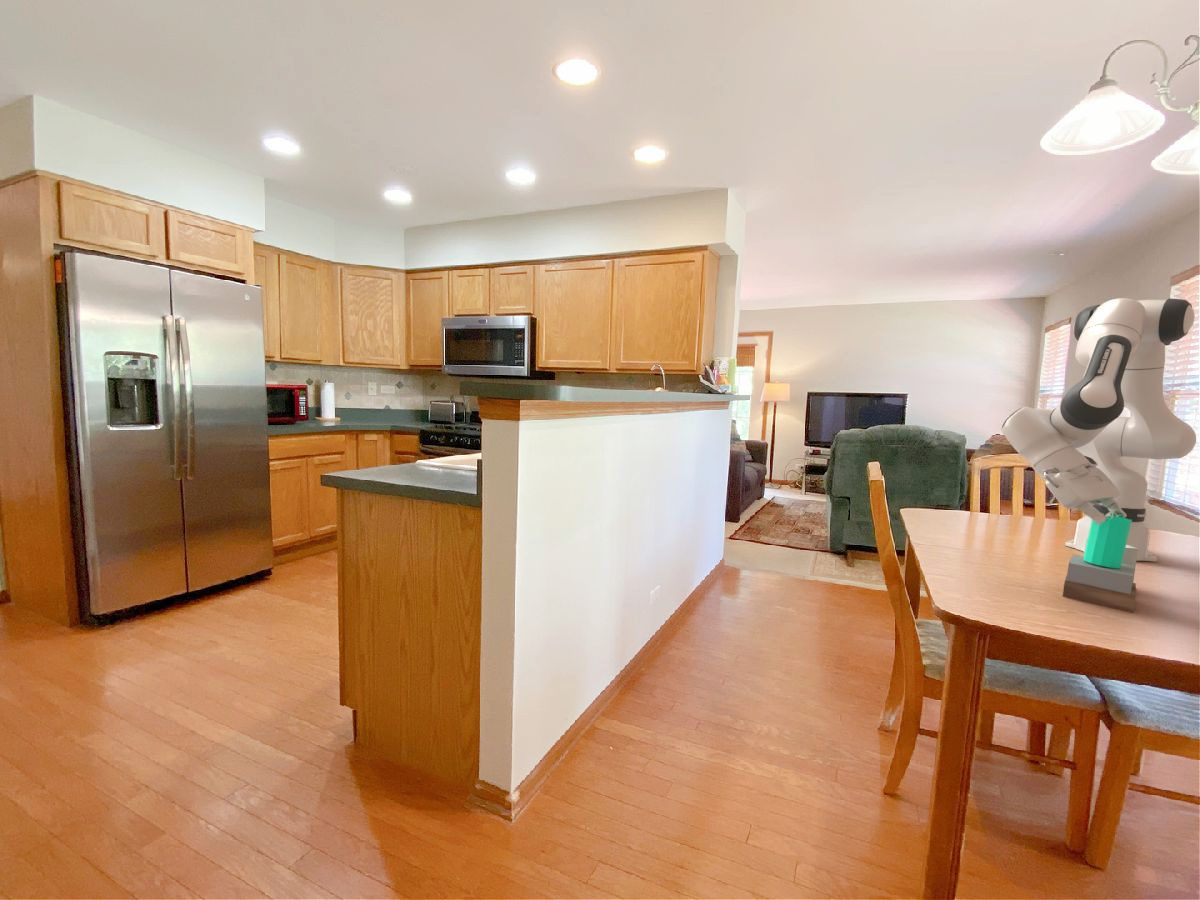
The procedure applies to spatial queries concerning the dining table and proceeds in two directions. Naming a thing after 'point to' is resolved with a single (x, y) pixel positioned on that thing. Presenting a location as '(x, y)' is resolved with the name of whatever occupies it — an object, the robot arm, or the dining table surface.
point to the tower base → (1100, 596)
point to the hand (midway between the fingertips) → (1113, 520)
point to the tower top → (1100, 575)
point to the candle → (1107, 542)
